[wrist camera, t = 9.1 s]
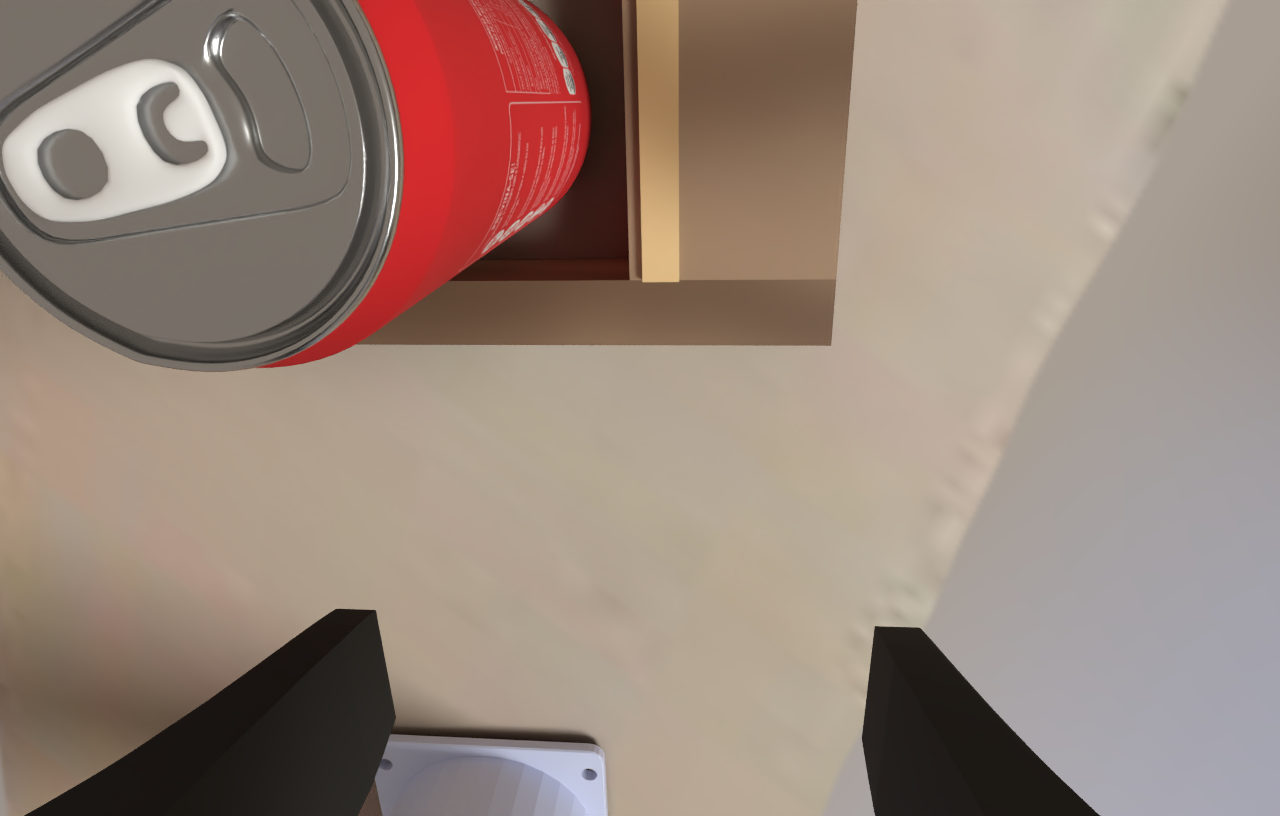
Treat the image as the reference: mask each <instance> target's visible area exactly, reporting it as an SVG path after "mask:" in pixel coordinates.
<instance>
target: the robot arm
mask: <svg viewBox="0 0 1280 816" xmlns="http://www.w3.org/2000/svg"><path fill="white" fill-rule="evenodd" d="M395 719H396V716H395V711H394V705H393V700H392V695H391V689H390V684H389V679H388V673H387V668H386V663H385V657H384V652H383V646H382V641H381V636H380V630H379V625H378V620H377V614H376V610H356V609H335V610H334V611H332V612H331V613H329V614H328V615H326V616H324V617H323V618H322V619H320V620H319V621H317V622H316V623H314V624H313V625H311V626H310V627H309V628H307V629H306V630H304V631H303V632H302V633H300V634H299V635H298V636H296V637H295V638H293V639H292V640H291V641H289V642H288V643H287V644H285V645H284V646H283V647H281V648H280V649H278V650H277V651H276V652H274V653H273V654H272V655H270V656H269V657H268V658H266V659H265V660H263V661H262V662H261V663H259V664H258V665H257V666H255V667H254V668H252V669H251V670H250V671H248V672H247V673H245V674H244V675H243V676H241V677H240V678H239V679H237V680H236V681H234V682H233V683H232V684H230V685H229V686H227V687H226V688H225V689H223V690H222V691H220V692H219V693H218V694H216V695H215V696H214V697H212V698H211V699H209V700H208V701H207V702H205V703H204V704H202V705H201V706H199V707H198V708H196V709H195V710H193V711H192V712H190V713H189V714H187V715H186V716H184V717H183V718H181V719H180V720H178V721H177V722H175V723H174V724H172V725H171V726H169V727H168V728H166V729H165V730H163V731H162V732H160V733H159V734H157V735H156V736H154V737H153V738H152V739H150V740H149V741H147V742H146V743H144V744H143V745H141V746H140V747H138V748H137V749H135V750H134V751H132V752H131V753H129V754H127V755H126V756H124V757H123V758H121V759H120V760H118V761H116V762H115V763H113V764H112V765H110V766H108V767H107V768H105V769H103V770H102V771H100V772H99V773H97V774H95V775H94V776H92V777H90V778H89V779H87V780H85V781H84V782H82V783H80V784H79V785H77V786H75V787H73V788H72V789H70V790H68V791H67V792H65V793H63V794H61V795H60V796H58V797H56V798H54V799H53V800H51V801H49V802H48V803H46V804H44V805H42V806H41V807H39V808H37V809H35V810H34V811H32V812H30V813H28V814H26V815H25V816H358V814H359V812H360V810H361V808H362V806H363V803H364V801H365V799H366V797H367V795H368V793H369V791H370V789H371V787H372V784H373V782H374V779H375V782H376V787H377V792H378V797H379V802H380V806H381V811H382V816H608V806H607V787H606V768H605V755H604V751H603V750H602V749H601V748H600V747H598V746H597V745H595V744H590V743H569V742H547V741H525V740H504V739H482V738H461V737H439V736H417V735H396V734H391V731H392V728H393V725H394V722H395ZM862 742H863V748H864V755H865V761H866V767H867V773H868V779H869V785H870V790H871V795H872V801H873V807H874V812H875V816H1100V815H1099V814H1098V813H1096V812H1095V811H1094V810H1093V809H1092V808H1091V807H1090V806H1089V805H1088V804H1087V803H1086V802H1085V801H1083V799H1081V798H1080V797H1079V796H1078V795H1077V794H1076V793H1075V792H1074V791H1073V790H1072V789H1071V788H1070V787H1069V786H1068V785H1067V784H1066V783H1065V782H1063V781H1062V780H1061V779H1060V778H1059V777H1058V776H1057V775H1056V774H1055V773H1054V772H1053V771H1052V770H1051V769H1050V768H1049V767H1048V766H1047V765H1046V764H1045V763H1044V762H1043V761H1042V760H1041V759H1040V758H1039V757H1038V756H1037V755H1036V754H1035V753H1034V752H1033V751H1032V750H1031V749H1030V748H1029V747H1028V746H1027V745H1026V743H1025V742H1024V741H1022V739H1021V738H1020V737H1019V736H1018V735H1017V734H1016V733H1015V732H1014V731H1013V730H1012V729H1011V728H1010V727H1009V726H1008V725H1007V724H1006V723H1005V722H1004V721H1003V719H1002V718H1001V717H1000V716H999V715H998V714H997V713H996V712H995V711H994V710H993V709H992V708H991V707H990V706H989V704H988V703H987V702H986V701H985V700H984V699H983V698H982V697H981V696H980V695H979V693H978V692H977V691H976V690H975V689H974V688H973V687H972V686H971V685H970V683H969V682H968V681H967V680H966V679H965V678H964V677H963V676H962V674H961V673H960V672H959V671H958V670H957V669H956V668H955V667H954V665H953V664H952V663H951V662H950V661H949V660H948V659H947V658H946V656H945V655H944V654H943V653H942V652H941V651H940V650H939V648H938V647H937V646H936V645H935V644H934V643H933V641H932V640H931V639H930V638H929V637H928V636H927V635H926V634H925V633H924V632H923V631H922V630H921V628H911V627H880V626H875V630H874V638H873V647H872V656H871V664H870V673H869V682H868V690H867V699H866V708H865V716H864V725H863V733H862ZM386 759H388V760H386ZM587 769H592V770H593V771H590V770H587Z"/></svg>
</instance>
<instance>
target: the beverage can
mask: <svg viewBox="0 0 1280 816" xmlns="http://www.w3.org/2000/svg"><path fill="white" fill-rule="evenodd" d="M590 133H591V102H590V95H589V90H588V85H587V81H586V78H585V74H584V72H583V69H582V66H581V64H580V61H579V59H578V57H577V55H576V53H575V51H574V49H573V47H572V46H571V44H570V43H569V41H568V39H567V38H566V37H565V35H564V34H563V33H562V31H561V30H560V29H559V28H558V26H557V25H556V24H555V23H554V22H553V21H552V20H551V19H550V18H549V17H548V16H547V15H546V14H545V13H544V12H542V11H541V10H540V9H539V8H537V7H536V6H535V5H533V4H532V3H530V2H529V1H527V0H0V269H1V270H2V271H3V272H4V273H5V274H6V276H7V277H8V278H9V279H11V280H12V281H13V282H14V283H15V284H16V285H17V286H18V287H19V288H20V289H21V290H22V291H23V292H24V293H26V294H27V295H28V296H29V297H30V298H31V299H33V300H34V301H35V302H36V303H37V304H38V305H40V306H41V307H42V308H44V309H45V310H46V311H48V312H49V313H50V314H52V315H53V316H54V317H56V318H57V319H59V320H60V321H62V322H63V323H65V324H66V325H68V326H69V327H71V328H72V329H74V330H76V331H77V332H79V333H81V334H82V335H84V336H86V337H88V338H89V339H91V340H93V341H95V342H97V343H99V344H101V345H103V346H105V347H107V348H109V349H111V350H113V351H115V352H117V353H119V354H121V355H123V356H126V357H128V358H130V359H132V360H135V361H137V362H140V363H144V364H149V365H155V366H160V367H166V368H173V369H180V370H189V371H202V372H227V371H238V370H245V369H251V368H273V367H283V366H291V365H297V364H303V363H307V362H311V361H315V360H319V359H322V358H325V357H328V356H331V355H334V354H336V353H339V352H341V351H343V350H345V349H347V348H350V347H352V346H353V345H355V344H357V343H359V342H360V341H362V340H364V339H366V338H367V337H369V336H370V335H372V334H373V333H375V332H376V331H377V330H379V329H380V328H382V327H383V326H385V325H386V324H387V323H389V322H390V321H392V320H393V319H395V318H396V317H397V316H399V315H400V314H402V313H403V312H405V311H406V310H407V309H409V308H410V307H412V306H413V305H415V304H416V303H417V302H419V301H420V300H422V299H423V298H425V297H426V296H427V295H429V294H430V293H432V292H433V291H434V290H436V289H437V288H439V287H440V286H442V285H443V284H444V283H446V282H447V281H449V280H450V279H452V278H453V277H454V276H456V275H457V274H459V273H460V272H462V271H463V270H464V269H466V268H467V267H469V266H470V265H471V264H473V263H474V262H476V261H477V260H479V259H480V258H481V257H483V256H484V255H486V254H487V253H489V252H490V251H491V250H493V249H494V248H496V247H497V246H499V245H500V244H501V243H503V242H504V241H506V240H507V239H508V238H510V237H511V236H513V235H514V234H516V233H517V232H518V231H520V230H521V229H523V228H524V227H526V226H527V225H528V224H530V223H531V222H533V221H534V220H536V219H537V218H538V217H540V216H541V215H543V214H544V213H545V212H547V211H548V210H549V209H551V208H552V207H553V206H554V205H555V204H556V203H557V202H558V201H559V200H560V199H561V198H562V197H563V196H564V195H565V194H566V192H567V191H568V190H569V188H570V187H571V186H572V184H573V182H574V181H575V179H576V177H577V175H578V173H579V171H580V169H581V167H582V164H583V162H584V159H585V156H586V153H587V149H588V145H589V140H590Z"/></svg>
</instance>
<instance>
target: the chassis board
mask: <svg viewBox="0 0 1280 816" xmlns="http://www.w3.org/2000/svg"><path fill="white" fill-rule="evenodd" d="M856 11H857V0H622V23H623V59H624V94H625V130H626V166H627V202H628V238H629V259H493V260H477V261H476V262H474V263H473V264H471V265H470V266H469V267H467V268H466V269H464V270H463V271H462V272H460V273H459V274H457V275H456V276H454V277H453V278H452V279H450V280H449V281H447V282H446V283H444V284H443V285H442V286H440V287H439V288H437V289H436V290H434V291H433V292H432V293H430V294H429V295H427V296H426V297H425V298H423V299H422V300H420V301H419V302H417V303H416V304H415V305H413V306H412V307H410V308H409V309H407V310H406V311H405V312H403V313H402V314H400V315H399V316H397V317H396V318H395V319H393V320H392V321H390V322H389V323H387V324H386V325H385V326H383V327H382V328H380V329H379V330H377V331H376V332H375V333H373V334H372V335H370V336H369V337H367V338H366V339H364V340H362V341H360V342H359V343H357V344H407V345H824V346H831V340H832V326H833V313H834V300H835V287H836V274H837V261H838V247H839V234H840V221H841V208H842V195H843V182H844V168H845V155H846V142H847V129H848V116H849V103H850V90H851V76H852V63H853V50H854V37H855V24H856Z"/></svg>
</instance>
